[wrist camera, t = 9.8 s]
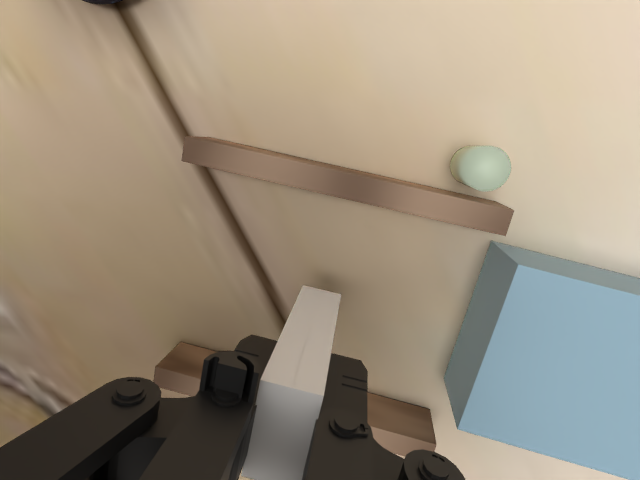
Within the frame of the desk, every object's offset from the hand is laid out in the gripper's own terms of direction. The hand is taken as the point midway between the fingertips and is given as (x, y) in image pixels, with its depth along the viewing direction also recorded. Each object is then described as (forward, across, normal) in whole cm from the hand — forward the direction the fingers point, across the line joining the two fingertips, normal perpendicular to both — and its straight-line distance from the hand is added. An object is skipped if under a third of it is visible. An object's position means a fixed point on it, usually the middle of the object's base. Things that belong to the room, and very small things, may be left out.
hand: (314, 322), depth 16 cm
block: (+4, +10, 0) cm, 11 cm away
